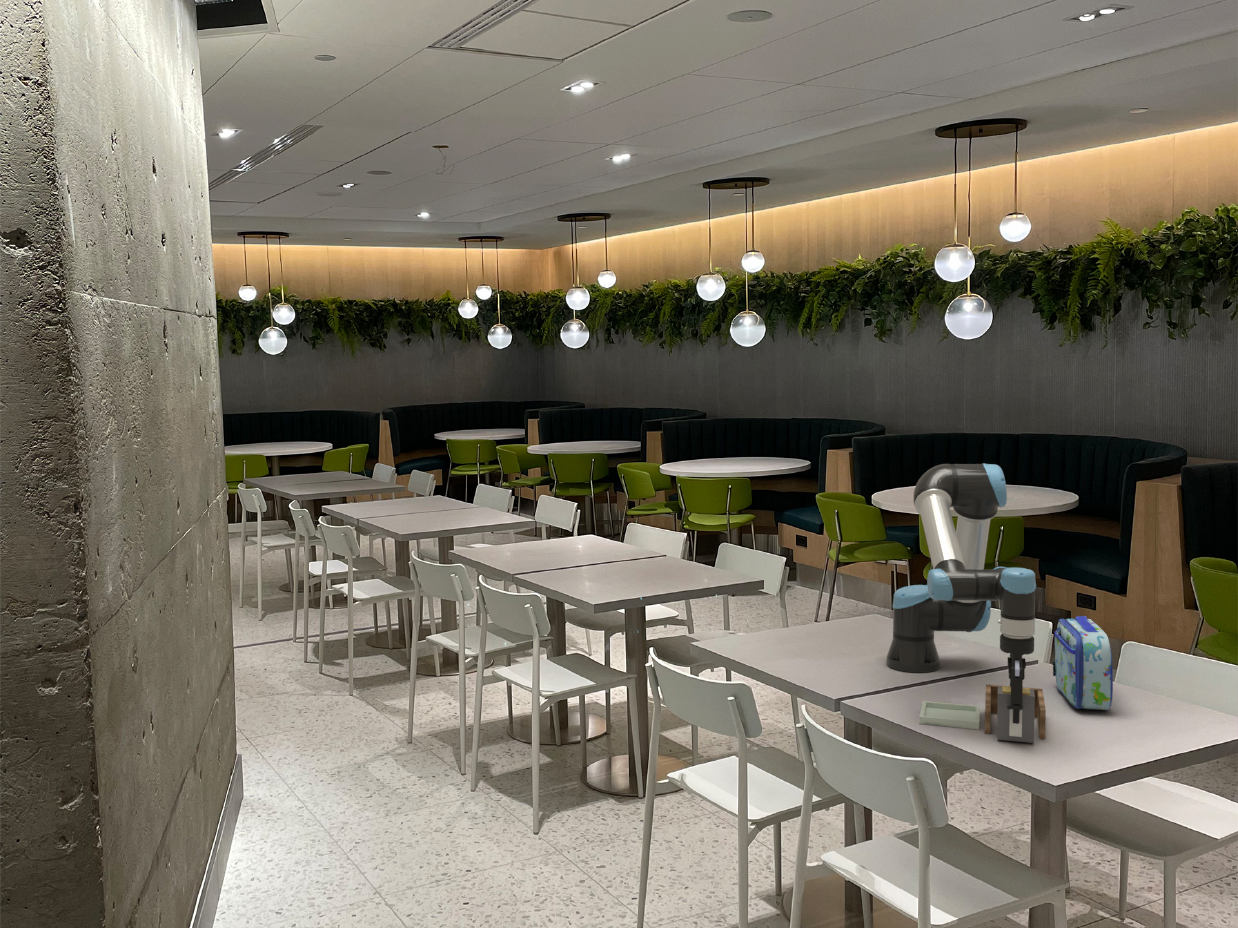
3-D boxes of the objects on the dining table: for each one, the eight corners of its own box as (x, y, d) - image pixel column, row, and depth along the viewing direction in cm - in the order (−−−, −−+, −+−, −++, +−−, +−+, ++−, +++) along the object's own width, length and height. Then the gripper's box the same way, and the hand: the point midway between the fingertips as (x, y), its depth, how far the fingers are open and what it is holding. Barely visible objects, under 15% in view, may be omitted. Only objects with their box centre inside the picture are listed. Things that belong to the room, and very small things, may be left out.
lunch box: (1049, 684, 292) (1051, 609, 290) (1091, 686, 290) (1093, 610, 288) (1070, 714, 267) (1072, 633, 265) (1115, 717, 265) (1118, 634, 263)
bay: (985, 711, 271) (985, 684, 270) (1041, 716, 266) (1042, 688, 266) (984, 733, 255) (985, 704, 254) (1045, 739, 250) (1045, 710, 249)
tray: (922, 707, 274) (922, 700, 274) (979, 712, 270) (980, 705, 269) (919, 723, 262) (919, 716, 262) (979, 729, 257) (979, 722, 257)
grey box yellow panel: (997, 730, 255) (997, 684, 254) (1032, 734, 252) (1033, 687, 251) (997, 739, 249) (998, 691, 248) (1033, 742, 246) (1034, 694, 245)
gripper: (999, 624, 258) (998, 716, 260) (1000, 643, 240) (998, 742, 243) (1032, 626, 256) (1030, 719, 258) (1036, 646, 238) (1033, 746, 240)
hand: (1015, 730), depth 250 cm, fingers closed on grey box yellow panel, 6 cm apart
